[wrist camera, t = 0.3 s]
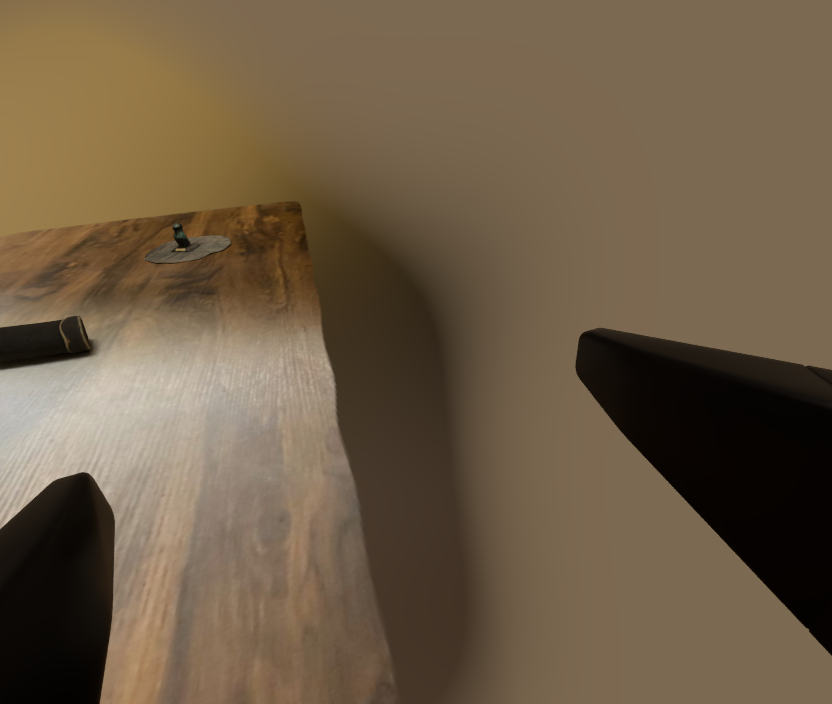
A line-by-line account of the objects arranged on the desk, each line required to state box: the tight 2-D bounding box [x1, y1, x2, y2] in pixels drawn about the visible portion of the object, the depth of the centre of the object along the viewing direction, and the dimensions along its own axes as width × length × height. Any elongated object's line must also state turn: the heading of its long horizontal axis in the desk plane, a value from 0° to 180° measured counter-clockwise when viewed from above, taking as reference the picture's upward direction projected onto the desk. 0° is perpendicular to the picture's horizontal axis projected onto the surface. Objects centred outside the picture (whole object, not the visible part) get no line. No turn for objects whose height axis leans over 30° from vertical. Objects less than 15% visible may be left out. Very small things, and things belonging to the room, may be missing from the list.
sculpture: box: [145, 223, 231, 263], centre depth 69 cm, size 12×9×8 cm
